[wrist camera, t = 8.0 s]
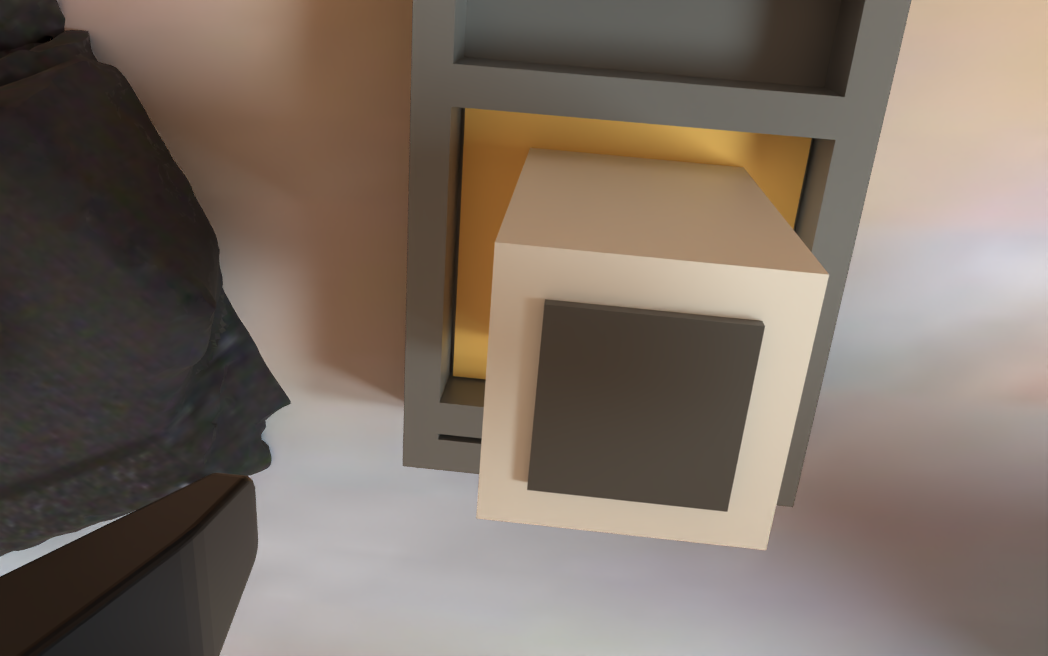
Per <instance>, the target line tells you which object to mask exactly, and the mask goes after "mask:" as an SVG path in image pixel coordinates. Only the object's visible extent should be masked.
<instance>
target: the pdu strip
mask: <svg viewBox="0 0 1048 656" xmlns="http://www.w3.org/2000/svg"><path fill="white" fill-rule="evenodd" d="M910 4H911V0H413V16H412V62H411V109H410V155H409V202H408V249H407V295H406V342H405V388H404V435H403V466H407V467H417V468H427V469H436V470H446V471H455V472H465V473H474V474H479V472H480V457H481V442H482V427H483V412H484V397H485V382H486V367H487V352H488V338H489V323H490V308H491V293H492V278H493V263H494V248H495V241H496V238H497V235H498V233H499V230H500V227H501V225H502V222H503V219H504V217H505V214H506V211H507V209H508V206H509V203H510V201H511V198H512V195H513V193H514V190H515V187H516V185H517V182H518V179H519V176H520V174H521V171H522V168H523V166H524V163H525V160H526V158H527V155H528V152H529V150H530V148H539V149H550V150H561V151H572V152H583V153H593V154H604V155H615V156H626V157H637V158H647V159H658V160H669V161H680V162H691V163H701V164H712V165H723V166H734V167H744V169H745V170H746V171H747V172H748V174H749V175H750V176H751V177H752V179H753V180H754V181H755V182H756V184H757V185H758V186H759V187H760V189H761V190H762V191H763V192H764V194H765V195H766V196H767V197H768V199H769V200H770V201H771V202H772V204H773V205H774V206H775V207H776V209H777V210H778V211H779V212H780V214H781V215H782V216H783V217H784V219H785V220H786V221H787V222H788V224H789V225H790V226H791V227H792V229H793V230H794V231H795V232H796V234H797V235H798V236H799V237H800V239H801V240H802V241H803V242H804V244H805V245H806V246H807V247H808V249H809V250H810V251H811V253H812V254H813V255H814V256H815V258H816V259H817V260H818V261H819V263H820V264H821V265H822V266H823V268H824V269H825V270H826V271H827V273H828V274H829V278H828V282H827V287H826V291H825V295H824V300H823V304H822V308H821V313H820V317H819V321H818V326H817V330H816V335H815V339H814V343H813V348H812V352H811V356H810V361H809V365H808V369H807V374H806V378H805V383H804V387H803V391H802V396H801V400H800V404H799V409H798V413H797V417H796V422H795V426H794V430H793V435H792V439H791V444H790V448H789V452H788V457H787V461H786V465H785V470H784V474H783V478H782V483H781V487H780V492H779V496H778V500H777V505H779V506H789V507H793V505H794V501H795V497H796V492H797V488H798V484H799V479H800V475H801V471H802V467H803V462H804V458H805V454H806V449H807V445H808V441H809V437H810V432H811V428H812V424H813V420H814V415H815V411H816V407H817V402H818V398H819V394H820V390H821V385H822V381H823V377H824V372H825V368H826V364H827V360H828V355H829V351H830V347H831V342H832V338H833V334H834V330H835V325H836V321H837V317H838V312H839V308H840V304H841V300H842V295H843V291H844V287H845V282H846V278H847V274H848V270H849V265H850V261H851V257H852V253H853V248H854V244H855V240H856V235H857V231H858V227H859V223H860V218H861V214H862V210H863V205H864V201H865V197H866V193H867V188H868V184H869V180H870V175H871V171H872V167H873V163H874V158H875V154H876V150H877V145H878V141H879V137H880V133H881V128H882V124H883V120H884V115H885V111H886V107H887V103H888V98H889V94H890V90H891V85H892V81H893V77H894V73H895V68H896V64H897V60H898V56H899V51H900V47H901V43H902V38H903V34H904V30H905V26H906V21H907V17H908V13H909V8H910Z"/></svg>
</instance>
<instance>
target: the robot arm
mask: <svg viewBox="0 0 1048 656" xmlns="http://www.w3.org/2000/svg"><path fill="white" fill-rule="evenodd" d="M257 548H258V528H257V512H256V495H255V486H254V483H253V481H252V480H251V478H249V477H248V476H244V475H235V474H225V473H212V474H210V475H208V476H206V477H203V478H201V479H199V480H197V481H195V482H193V483H191V484H189V485H187V486H185V487H183V488H181V489H179V490H177V491H175V492H173V493H171V494H169V495H167V496H165V497H163V498H161V499H158V500H156V501H154V502H152V503H150V504H148V505H146V506H144V507H142V508H140V509H138V510H136V511H134V512H132V513H130V514H128V515H126V516H124V517H122V518H120V519H118V520H116V521H113V522H111V523H109V524H107V525H105V526H103V527H101V528H99V529H97V530H95V531H93V532H91V533H89V534H87V535H85V536H83V537H81V538H79V539H77V540H75V541H72V542H70V543H68V544H66V545H64V546H62V547H60V548H58V549H56V550H54V551H52V552H50V553H48V554H46V555H44V556H42V557H40V558H38V559H36V560H34V561H31V562H29V563H27V564H25V565H23V566H21V567H19V568H17V569H15V570H13V571H11V572H9V573H7V574H5V575H3V576H1V577H0V656H219V655H220V652H221V650H222V647H223V644H224V642H225V639H226V636H227V634H228V631H229V628H230V626H231V623H232V620H233V618H234V615H235V612H236V610H237V607H238V604H239V602H240V599H241V596H242V594H243V591H244V588H245V586H246V583H247V581H248V578H249V575H250V573H251V570H252V567H253V565H254V562H255V558H256V554H257Z"/></svg>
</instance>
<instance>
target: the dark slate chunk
mask: <svg viewBox="0 0 1048 656" xmlns="http://www.w3.org/2000/svg"><path fill="white" fill-rule="evenodd" d="M64 25H65V18H64V16H63V14H62V12H61V10H60V8H59V6H58V4H57V1H56V0H0V556H2V555H4V554H6V553H9V552H11V551H19V550H24V549H28V548H31V547H34V546H36V545H39V544H41V543H43V542H45V541H46V540H48V539H50V538H52V537H55V536H59V535H63V534H67V533H72V532H76V531H79V530H81V529H83V528H86V527H88V526H91V525H94V524H96V523H99V522H103V521H108V520H111V519H115V518H117V517H120V516H123V515H125V514H128V513H130V512H133V511H136V510H138V509H140V508H142V507H144V506H146V505H148V504H150V503H152V502H154V501H156V500H158V499H161V498H163V497H165V496H167V495H169V494H171V493H173V492H175V491H177V490H179V489H181V488H183V487H185V486H187V485H189V484H191V483H193V482H195V481H197V480H199V479H201V478H203V477H206V476H208V475H210V474H212V473H225V474H235V475H244V476H248V475H252V474H255V473H258V472H260V471H262V470H265V469H267V468H268V467H269V466H270V464H271V455H270V450H269V447H268V445H267V444H266V443H265V442H264V441H263V440H261V434H262V432H263V431H264V429H265V427H266V424H265V420H266V419H267V418H268V417H270V416H271V415H272V414H273V413H275V412H276V411H277V410H279V409H280V408H282V407H284V406H287V405H289V404H291V403H290V400H289V398H288V397H287V395H286V394H285V392H284V391H283V389H282V388H281V386H280V385H279V384H278V382H277V381H276V379H275V378H274V376H273V375H272V373H271V372H270V370H269V368H268V367H267V366H266V364H265V362H264V360H263V358H262V357H261V355H260V353H259V351H258V348H257V346H256V344H255V343H254V341H253V339H252V338H251V336H250V334H249V332H248V331H247V329H246V328H245V326H244V325H243V323H242V322H241V320H240V319H239V317H238V316H237V314H236V312H235V311H234V309H233V307H232V305H231V303H230V302H229V300H228V298H227V296H226V294H225V292H224V290H223V288H222V285H223V281H222V274H221V270H220V265H219V247H218V243H217V238H216V235H215V233H214V231H213V228H212V227H211V225H210V223H209V221H208V219H207V217H206V215H205V214H204V212H203V210H202V208H201V207H200V205H199V203H198V201H197V199H196V197H195V195H194V193H193V191H192V188H191V186H190V183H189V182H188V180H187V178H186V177H185V175H184V174H183V173H182V171H181V170H180V169H179V167H178V166H177V165H176V163H175V162H174V160H173V159H172V157H171V155H170V153H169V151H168V149H167V147H166V146H165V144H164V142H163V141H162V139H161V138H160V136H159V135H158V133H157V131H156V130H155V128H154V126H153V124H152V123H151V121H150V119H149V117H148V115H147V113H146V111H145V109H144V108H143V106H142V104H141V102H140V101H139V99H138V98H137V96H136V94H135V92H134V91H133V89H132V87H131V86H130V84H129V83H128V81H127V80H126V78H125V77H124V76H123V75H122V73H121V72H120V71H119V70H118V69H117V68H115V67H113V66H111V65H106V64H101V63H99V62H98V61H97V60H96V58H95V57H94V55H93V53H92V50H91V46H90V40H89V33H88V31H78V30H69V31H64ZM52 37H55V38H54V39H52V40H51V41H49V42H47V41H48V40H50V39H51V38H52ZM45 42H47V43H45Z"/></svg>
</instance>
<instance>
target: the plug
mask: <svg viewBox="0 0 1048 656" xmlns="http://www.w3.org/2000/svg"><path fill="white" fill-rule="evenodd" d="M828 278H829V274H828V273H827V271H826V270H825V269H824V268H823V266H822V265H821V264H820V263H819V261H818V260H817V259H816V258H815V256H814V255H813V254H812V253H811V251H810V250H809V249H808V247H807V246H806V245H805V244H804V242H803V241H802V240H801V239H800V237H799V236H798V235H797V234H796V232H795V231H794V230H793V229H792V227H791V226H790V225H789V224H788V222H787V221H786V220H785V219H784V217H783V216H782V215H781V214H780V212H779V211H778V210H777V209H776V207H775V206H774V205H773V204H772V202H771V201H770V200H769V199H768V197H767V196H766V195H765V194H764V192H763V191H762V190H761V189H760V187H759V186H758V185H757V184H756V182H755V181H754V180H753V179H752V177H751V176H750V175H749V174H748V172H747V171H746V170H745V169H744V167H734V166H723V165H712V164H701V163H691V162H680V161H669V160H658V159H647V158H637V157H626V156H615V155H604V154H593V153H583V152H572V151H561V150H550V149H539V148H530V150H529V152H528V155H527V158H526V160H525V163H524V166H523V168H522V171H521V174H520V176H519V179H518V182H517V185H516V187H515V190H514V193H513V195H512V198H511V201H510V203H509V206H508V209H507V211H506V214H505V217H504V219H503V222H502V225H501V227H500V230H499V233H498V235H497V238H496V241H495V248H494V263H493V278H492V293H491V308H490V323H489V338H488V352H487V367H486V382H485V397H484V412H483V427H482V442H481V457H480V472H479V486H478V501H477V516H476V518H478V519H487V520H496V521H505V522H514V523H523V524H532V525H541V526H550V527H559V528H568V529H577V530H587V531H596V532H605V533H614V534H623V535H632V536H641V537H650V538H659V539H668V540H677V541H686V542H695V543H704V544H713V545H722V546H731V547H740V548H749V549H758V550H766V548H767V544H768V540H769V535H770V531H771V526H772V522H773V518H774V513H775V509H776V505H777V500H778V496H779V492H780V487H781V483H782V478H783V474H784V470H785V465H786V461H787V457H788V452H789V448H790V444H791V439H792V435H793V430H794V426H795V422H796V417H797V413H798V409H799V404H800V400H801V396H802V391H803V387H804V383H805V378H806V374H807V369H808V365H809V361H810V356H811V352H812V348H813V343H814V339H815V335H816V330H817V326H818V321H819V317H820V313H821V308H822V304H823V300H824V295H825V291H826V287H827V282H828Z"/></svg>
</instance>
